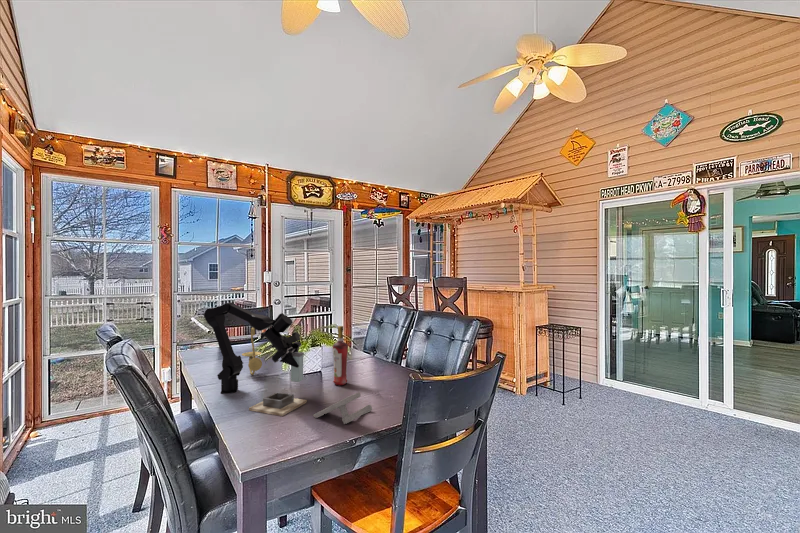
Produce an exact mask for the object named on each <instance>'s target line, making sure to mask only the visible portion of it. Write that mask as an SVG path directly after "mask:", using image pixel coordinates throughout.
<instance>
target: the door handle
mask: <svg viewBox="0 0 800 533" xmlns="http://www.w3.org/2000/svg"><path fill="white" fill-rule="evenodd" d="M360 397H361V392H360V391H359V392H356V393H354V394H351V395H348V396H347V397H345V398H343V399H341V400H339V401H337V402H336V403H333V404H331V405H329V406H327V407H326V408H324V409H322V410H320V411H317V412H316V413H314V414H313V415H312V416H313V417H314V418H315V419H317V418H320V417H322V416H324V414H325V415H326V414H328V413H329V414H330V413H331V412H333V411H335V410H336V409H338V410H339V411H340V414H341V416H342V418H341V420H342V423H343V425H346V424H349V423H351V422H352V421H353V420H355V419H357V418H359V417H360V416H364V415H365V414H368V413H369V412H372V411H373V407H372V404H367V405H365V406H363V407H362V408H360V409H359V410H358V409H357V411H355V412H352V413H350V414H349V412H348V410H347V407H346V406H347V404H349V403H350V402H353V401H355V400H356V399H359V398H360Z"/></svg>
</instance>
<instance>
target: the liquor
mask: <svg viewBox="0 0 800 533" xmlns="http://www.w3.org/2000/svg"><path fill="white" fill-rule="evenodd" d="M343 332H344V325H338V326H337V342H334V344H333V345H332V357H333V381H332V382H333V384H334V385H335V386H345V385H346V384H347V383H348V380H347V376H348V375H347V372H348V353H349V352H348V351H349V344H348V343H347V342H344V334H343Z"/></svg>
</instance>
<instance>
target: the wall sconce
mask: <svg viewBox="0 0 800 533" xmlns="http://www.w3.org/2000/svg"><path fill="white" fill-rule="evenodd" d="M250 329H251V330H250V338H251V339H250V340H251V347H252V351H248V352H247V351H246V352H243V353H241V355H242V356H241V357H248V364H247V365H248V369H249V374H250V375H252V376H253V375H255V373H256V372H257V371H259V370H260V369H261V368H262V366H263V361H262V360H261V358H259V357H257V356H260V355H261V354H262V352H260V351H256V350H255V343H254V336H255V335H256V329H254V328H253V327H251V328H250Z"/></svg>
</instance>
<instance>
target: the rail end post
mask: <svg viewBox="0 0 800 533" xmlns="http://www.w3.org/2000/svg"><path fill="white" fill-rule="evenodd" d="M304 353H305V352H301V351H298V352H294V353H292V357H293V358H294V359H295V361H296V362H297V364H298V365H299V367H297V368H296V367H294V366H291V365H290V382H292V383H300V382H302V381H303V380H304V355H305V354H304Z"/></svg>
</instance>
